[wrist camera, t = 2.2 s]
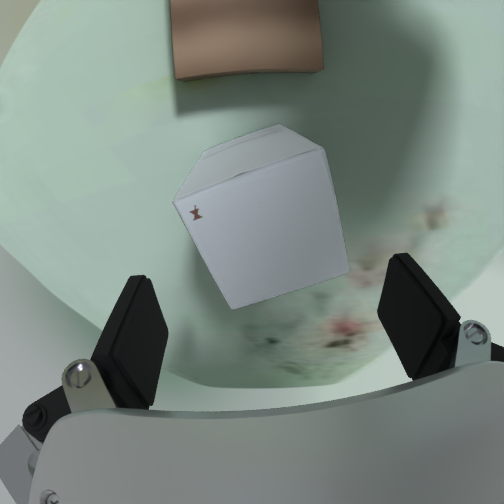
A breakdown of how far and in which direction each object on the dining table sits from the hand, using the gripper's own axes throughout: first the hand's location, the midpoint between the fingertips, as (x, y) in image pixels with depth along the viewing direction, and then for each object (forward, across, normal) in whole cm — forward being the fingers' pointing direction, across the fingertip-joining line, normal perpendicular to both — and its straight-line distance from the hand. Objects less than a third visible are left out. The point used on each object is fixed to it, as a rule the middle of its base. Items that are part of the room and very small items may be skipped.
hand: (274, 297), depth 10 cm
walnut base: (+16, 0, -16) cm, 22 cm away
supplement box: (+16, 0, -1) cm, 17 cm away
